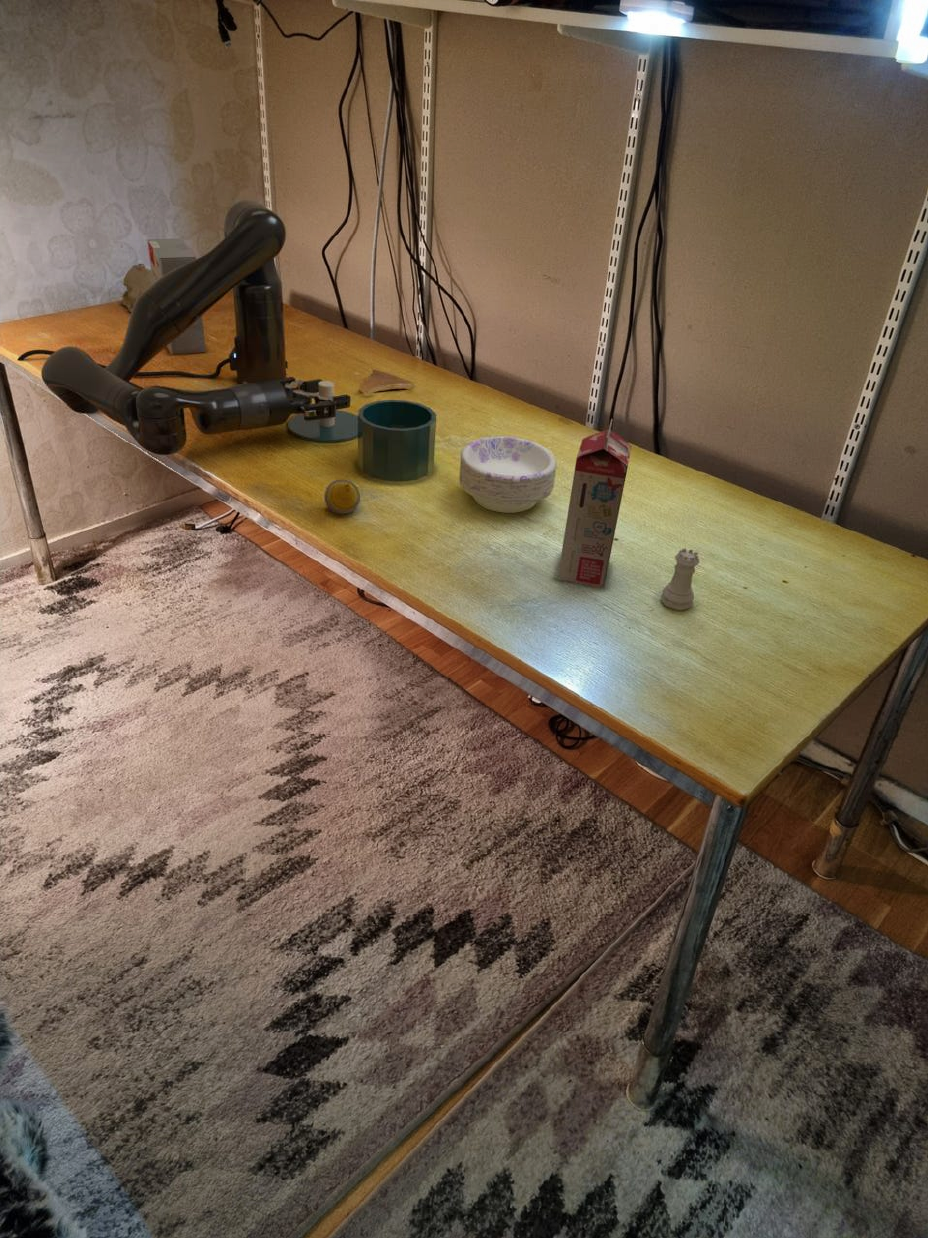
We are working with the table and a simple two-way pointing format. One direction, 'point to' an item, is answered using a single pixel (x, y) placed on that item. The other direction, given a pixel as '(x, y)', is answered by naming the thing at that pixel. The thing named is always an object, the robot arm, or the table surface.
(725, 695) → the table surface
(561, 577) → the juice carton
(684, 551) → the rook chess piece
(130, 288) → the ceramic model
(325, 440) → the lid
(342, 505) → the drill bit
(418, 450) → the pot
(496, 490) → the paper bowls
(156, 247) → the hard drive box
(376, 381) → the pottery shard
